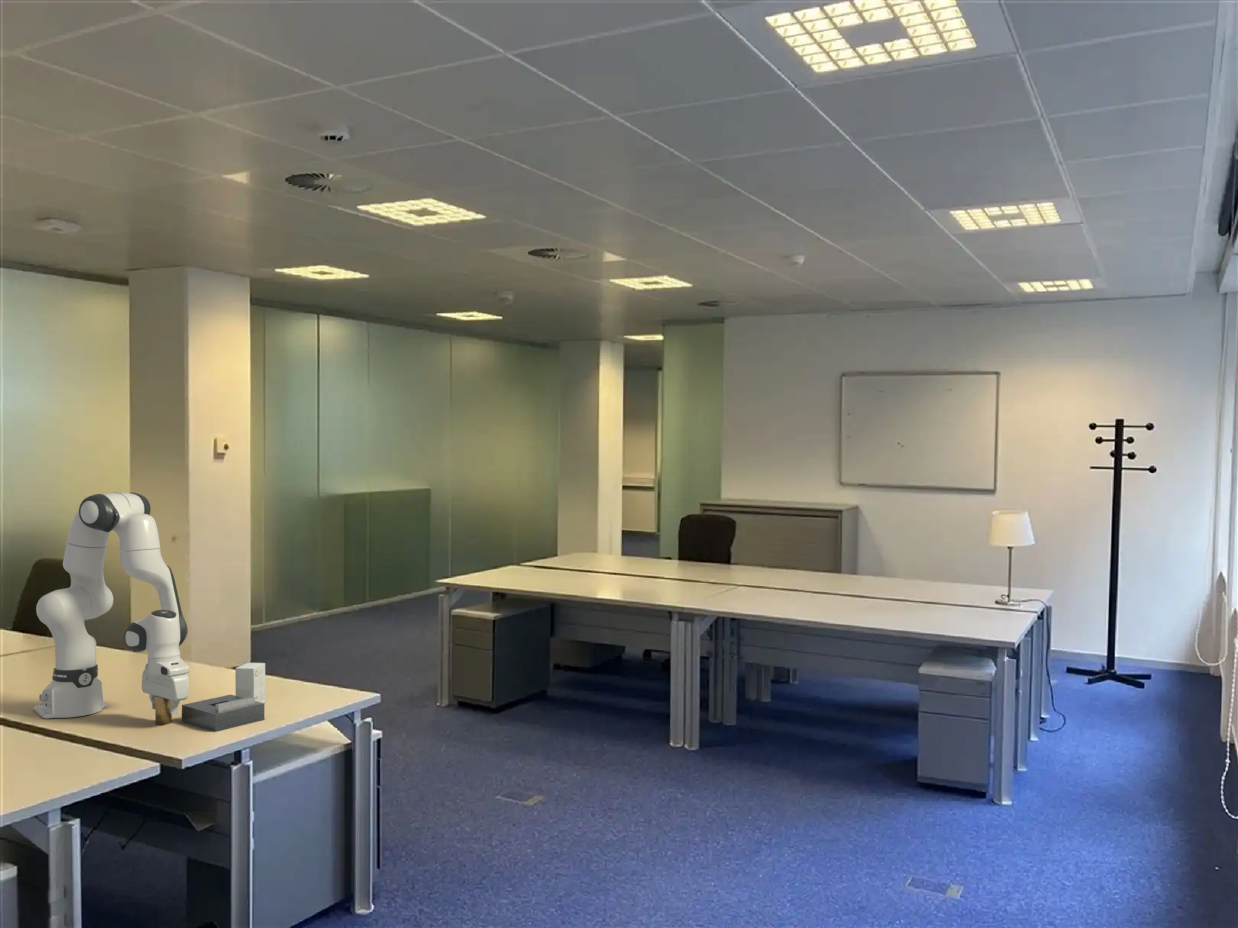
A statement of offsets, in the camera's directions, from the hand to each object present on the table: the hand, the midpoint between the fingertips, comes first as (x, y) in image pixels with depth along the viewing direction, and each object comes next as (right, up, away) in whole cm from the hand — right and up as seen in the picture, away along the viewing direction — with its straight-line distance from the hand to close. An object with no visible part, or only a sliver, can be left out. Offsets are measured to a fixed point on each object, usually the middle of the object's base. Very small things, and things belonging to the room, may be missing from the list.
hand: (164, 711), depth 290 cm
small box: (+18, -4, +20) cm, 27 cm away
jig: (+16, -3, +2) cm, 17 cm away
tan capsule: (0, -3, 0) cm, 3 cm away
